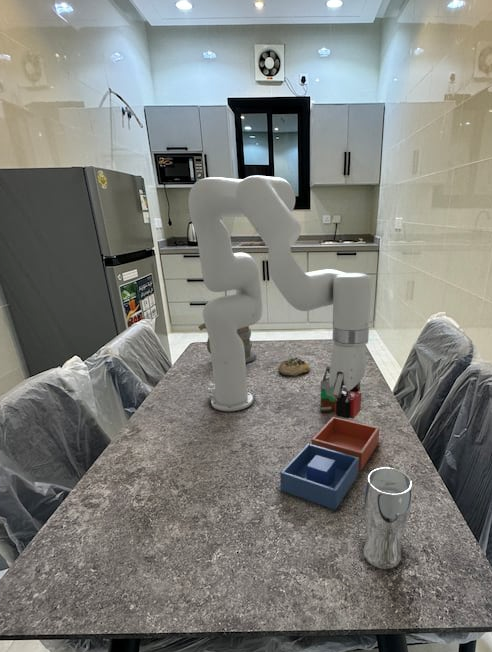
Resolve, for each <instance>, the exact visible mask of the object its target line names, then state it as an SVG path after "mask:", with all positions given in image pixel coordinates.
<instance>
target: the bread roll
mask: <svg viewBox="0 0 492 652" xmlns="http://www.w3.org/2000/svg"><path fill="white" fill-rule="evenodd" d="M309 370H310V368H309V366H308V363H307V362H305V361H304V360H302V359H301V358H299V357H297V356H296V357H290V358H289V359H287V360H286V359H285V360H283V361H282V362H281V363H280V365H279V367H278V371H279V373H280V374H282V375H285V376H299V375H301V374H303V373H307V372H308V371H309Z"/></svg>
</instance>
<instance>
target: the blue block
mask: <svg viewBox="0 0 492 652" xmlns="http://www.w3.org/2000/svg"><path fill="white" fill-rule="evenodd" d="M334 479H335V460H332V459H329V458H325V457H322V456H318V455H316V456H315V457H314V458H313V459H312V460H311V461H310V463H309V464H308V465H307V480H310V481H313V482H316V483H319V484H322V485H325V486H328V487H329V486H330V484H331V483H332V481H333V480H334Z"/></svg>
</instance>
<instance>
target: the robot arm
mask: <svg viewBox="0 0 492 652" xmlns="http://www.w3.org/2000/svg"><path fill="white" fill-rule="evenodd" d="M295 193H296V192H295V191H294V188H293V187H292V185H291V184H290V183H289V182H288V181H287V180H286V179H284V178H282V177H277V176H266V175H250V176H247V177H245V178H243V179H242V178H230V177H229V178H228V177H217V176H216V177H215V176H214V177H204V178H201V179H199V180H197V181H196V182H194V184H193V185H192V186H191V188H190V191H189V193H188V202H187V206H188V212H189V213H188V214H189V217H190V220H191V225H192V226H193V229H194V232H195V235H196V241H197V246H198V247H197V248H198V255H199V262H200V267H201V273H202V280H203V283H204V285H205V288H206V289H207V290H208V291H210V292H212V293H223V292H229V291H235V294H234V293H233V294H229V295H224V296H223V295H222V296H220V297H216V298H213V299H211V300H209V301H207V303H206V304H205V305H204V306H203V309H202V318H203V323H205V326H206V329H205V330H206V332H207V338H208V337H209V342H210V349H211V354H210V356H211V365H212V374H213V376H212V377H213V383H209V384H208V387H207V388H206V393H209V394H212V397H211V399H210V404H211V407H212V408H214V410H218V411H221V412H236V411H242V410H245V409H246V408H248V407H250V406H251V405H253V403H254V396H253V394H251V393H250V392H248V377H247V366H246V364H247V363H245V351H244V344H243V341H242V340H241V338H240V337H239V335H238V334H237V332H236V330H238V329H240V328H243V327H247V326H249V327H250V326H254V325H255V324H257V323H258V322H259V321H260V320H261V319H262V315H263V298H262V288H261V279H260V271H259V267H258V264H257V262H256V260H255V259H254V257H253V256H251V255H250V254H248V253H247V252H240V251H239V252H234V251H233V246H232V245H233V244H232V238H231V234H230V232H229V230H228V228H227V227H226V225H225V223H224V222H223V221H222V219H221V218H246V219H247V220H248V222H249V223H250V224H251V225H252V227H253V229H254V230H255V231H256V233H257V234H258V235H259V237H260V238H261V240H262V241H263V242H264V244H265V245H266V247H267V248H268V253H267V262H268V268H269V274H270V277H271V279H272V282H273V283H274V286H275V287H276V288H277V289H278V291H279V292H280V294H281V295H282V296H283V298H284V299H285V300H286V302H287V303H288V304H289V305H290V306H291V307H293V308H294V309H296V310H298V311H301V312H310V311H313V310H317V309H320V308H324V307H329V306H332V339H331V340H332V343H333V344H332V348H331V355H330V365H329V367H330V378H329V386H330V388H333V387H335V389H334V392H333V396H335V397H336V415H335V416H336V417H338V418H342V419H347V420H349V419H351V418H350V414H351V402H350V401H349V400H350V392H351V391H354V392H359V393H360V391H361V381H362V380H363V379H364V377H365V372H366V356H367V355H366V345H367V344H368V343H369V336H370V335H369V333H370V317H371V300H372V278H371V277H370V275H368V274H366V273H362V272H346V271H341V270H337V269H333V268H324V269H320V270H313V271H307V272H305V271H304V270H303V268H302V266H301V265H300V264H299V263H298V262H297V260H296V259H295V257H294V255H293V253H292V249H291V247H292V246H293V245H295V243H296V242H297V241H298V239H299V237H300V236H301V232H302V227H301V224H300V222H299V221H298V219H297V218H296V217H295V215H294V214H293V210H294V209H295V205H296V194H295ZM344 386H345V387H344ZM342 391H346V396H345V394H343V393H342Z"/></svg>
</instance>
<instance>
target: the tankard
mask: <svg viewBox="0 0 492 652" xmlns="http://www.w3.org/2000/svg"><path fill="white" fill-rule="evenodd" d="M198 329H199V330H200V331H202V330H204V329H205V330H207V329H206V326H205V323H204V322H203V323H201V324H200V325H198ZM236 332H237V334H238V335H239V337H240V338H241V340H242V341H243V344H244V351H245V363H246V364H247V363H250V362H253V361H254V358H255V352H254V351H252V346H253V344H252V340H251V336H252V330H251V328H250V326H247V327H243V328H240V329H238V330H236ZM206 350H207V352H208V353H209V354H210V355H211V349H210V342H209V337H208V336H207V340H206Z"/></svg>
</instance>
